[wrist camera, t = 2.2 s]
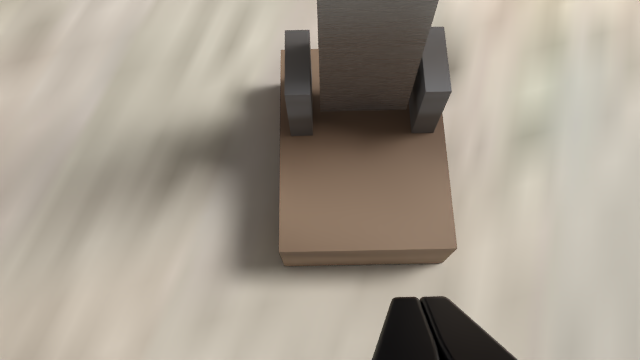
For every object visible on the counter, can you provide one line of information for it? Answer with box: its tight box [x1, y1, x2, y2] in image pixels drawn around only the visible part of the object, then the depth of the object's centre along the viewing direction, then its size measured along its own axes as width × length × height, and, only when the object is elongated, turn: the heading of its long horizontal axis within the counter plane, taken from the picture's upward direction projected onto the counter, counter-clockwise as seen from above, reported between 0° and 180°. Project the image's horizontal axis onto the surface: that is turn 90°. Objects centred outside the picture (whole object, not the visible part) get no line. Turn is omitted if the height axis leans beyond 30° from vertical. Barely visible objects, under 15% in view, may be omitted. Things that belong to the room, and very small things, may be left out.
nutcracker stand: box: [279, 27, 457, 266], centre depth 19 cm, size 8×6×6 cm
